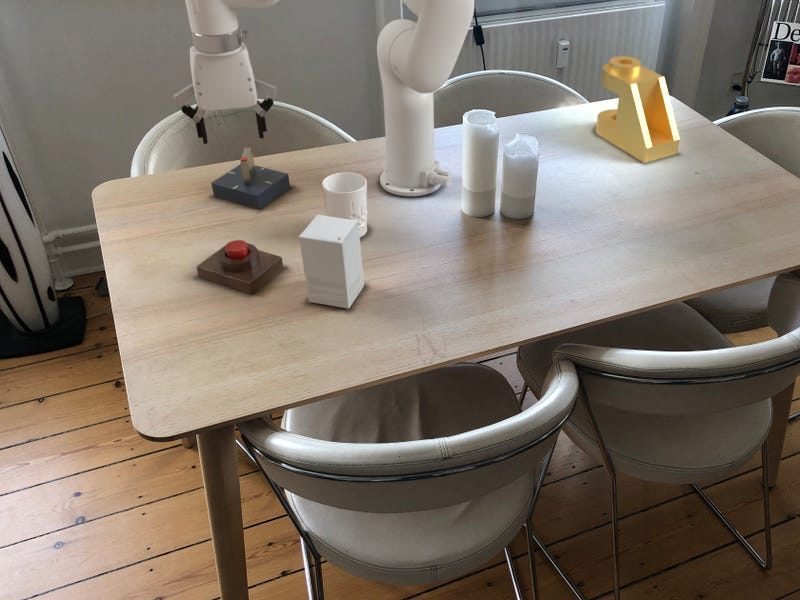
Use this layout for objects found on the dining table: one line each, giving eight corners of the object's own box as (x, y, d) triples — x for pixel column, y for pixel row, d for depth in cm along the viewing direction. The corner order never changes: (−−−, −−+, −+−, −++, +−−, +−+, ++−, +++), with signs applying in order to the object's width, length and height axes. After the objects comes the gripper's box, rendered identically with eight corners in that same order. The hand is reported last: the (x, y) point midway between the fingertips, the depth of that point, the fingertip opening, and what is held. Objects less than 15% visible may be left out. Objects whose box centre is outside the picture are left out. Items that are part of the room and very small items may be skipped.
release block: (283, 267, 144) (280, 247, 142) (251, 294, 138) (247, 274, 135) (232, 251, 148) (228, 232, 145) (198, 277, 141) (194, 257, 139)
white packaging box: (365, 285, 140) (360, 219, 132) (348, 310, 135) (341, 243, 127) (325, 278, 142) (317, 212, 134) (306, 302, 136) (297, 235, 128)
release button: (253, 251, 141) (251, 243, 140) (240, 262, 139) (238, 253, 138) (236, 246, 142) (234, 238, 141) (222, 256, 140) (220, 248, 139)
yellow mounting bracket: (587, 128, 191) (595, 58, 181) (619, 120, 195) (628, 51, 184) (644, 163, 178) (655, 90, 168) (676, 153, 182) (690, 81, 171)
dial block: (290, 187, 167) (288, 172, 165) (259, 209, 159) (256, 194, 157) (246, 175, 170) (243, 161, 168) (213, 196, 163) (210, 182, 161)
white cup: (349, 216, 158) (345, 167, 152) (379, 230, 154) (375, 181, 148) (318, 232, 153) (312, 183, 147) (348, 247, 150) (343, 197, 143)
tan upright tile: (248, 170, 165) (244, 146, 162) (255, 170, 165) (251, 146, 162) (244, 185, 160) (239, 160, 157) (251, 185, 161) (247, 160, 157)
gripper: (268, 29, 141) (280, 124, 152) (161, 36, 137) (182, 134, 148) (272, 43, 136) (285, 142, 147) (161, 51, 131) (183, 152, 142)
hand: (233, 138), depth 147 cm, fingers open, 9 cm apart
